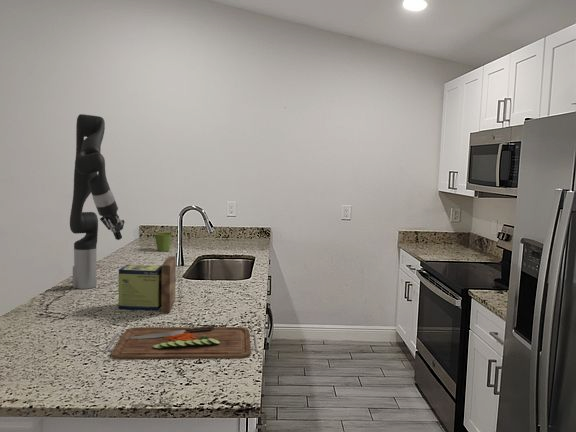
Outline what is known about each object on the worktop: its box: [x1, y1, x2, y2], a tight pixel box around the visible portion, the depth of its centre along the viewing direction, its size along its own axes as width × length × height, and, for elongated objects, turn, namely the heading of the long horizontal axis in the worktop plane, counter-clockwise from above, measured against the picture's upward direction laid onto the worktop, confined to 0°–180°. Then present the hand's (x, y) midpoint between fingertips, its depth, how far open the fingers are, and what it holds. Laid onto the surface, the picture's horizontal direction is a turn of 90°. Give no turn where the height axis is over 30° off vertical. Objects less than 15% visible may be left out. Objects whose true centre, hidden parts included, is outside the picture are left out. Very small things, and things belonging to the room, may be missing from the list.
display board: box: [160, 255, 177, 314], centre depth 202 cm, size 3×20×18 cm, turn 6°
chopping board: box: [103, 325, 259, 360], centre depth 162 cm, size 45×27×3 cm, turn 96°
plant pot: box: [153, 232, 174, 253], centre depth 332 cm, size 12×12×11 cm
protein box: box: [117, 264, 162, 312], centre depth 201 cm, size 10×16×16 cm
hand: (119, 238), depth 211 cm, fingers closed
